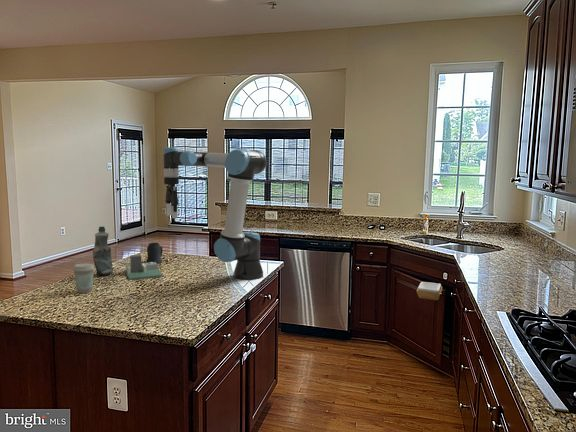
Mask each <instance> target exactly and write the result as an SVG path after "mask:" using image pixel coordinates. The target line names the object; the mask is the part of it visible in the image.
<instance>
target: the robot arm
mask: <svg viewBox="0 0 576 432" xmlns="http://www.w3.org/2000/svg"><path fill="white" fill-rule="evenodd" d="M162 156H163V176H164V177H163V184H164V185H166V190H165V203H166V207H165V208H166V210H165V211H166V217H167V216H171V218H172V219H178V218H179V217H178V215H179V214H178V212H179V211H178V206H179V204H180V203H179V197H178V196H179V195H178V186H176V185H179V181H180V178H179V175H180V174H179V173H180V170H179V167H180V166H182V167H205V168H206V167H207V168H208V167H211V168H224V169H226V172H227V173H228V174H227V175H228V176H227V177H228V178H229V179H230V184H229V185H230V186H229V193H228V201H227V209H226V215H225V216H226V217H225V223H224V229H223V230H222V231H221V232H220V237H219V238H218V239H217V240H215V242H214V244H213V252H214V254H215V255H216V257H217V259H218V260H219V261H220V262H224V263H229V262H230V263H231V262H234V261H236V263H235V267H234V269H233V270H234V271H233V278H235V279H237V280H245V281H252V280H258V279H261V278H263V277H264V270H263V268H262V267H263V266H262V263H261V236H260V233H258V232H252V231H243V229H244V228H243V227H244V223H245V215H246V207H247V202H248V201H247V200H248V193H249V187H250V184H251V182H253V181H254V176H255V175H258V174H261V173H263V172H264V171H265V169H266V167H267V163H268V161H267V157H266V155H265V154H264V153H263V152H261V151H260V150H257V149H246V148H237V149H233V150H231V151H230V152H229V153H228V152H226V153H225V152H224V153H223V152H207V151H205V152H204V151H191V150H184V151H183V150H180V151H179V148H178V147H172V146H171V147H164V148H163V155H162Z"/></svg>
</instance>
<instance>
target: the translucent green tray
mask: <svg viewBox="0 0 576 432" xmlns="http://www.w3.org/2000/svg"><path fill="white" fill-rule="evenodd" d="M144 263H145V262H143V263H142V262H141V265H142V271H139V272H131V269H130V262H126V264H125V269H124V273H125V276H126V277H127V278H128V280H129V281H133V280H144V279H156V278H163V277H164V274H163V273H162V271H160V270H159V269H151V270H146V266H145V264H144Z"/></svg>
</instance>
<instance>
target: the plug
mask: <svg viewBox="0 0 576 432" xmlns="http://www.w3.org/2000/svg"><path fill="white" fill-rule="evenodd" d="M129 264H130V269H131V272H139V271H142V265H141V264H142V255H141V254H135V255H134V254H132V255H131V254H130V256H129Z"/></svg>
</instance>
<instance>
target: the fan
mask: <svg viewBox="0 0 576 432" xmlns="http://www.w3.org/2000/svg"><path fill="white" fill-rule="evenodd" d="M143 263H144V264H145V266H146V270H151V269H158V264H157V263H156V262H149V263H146V262H143ZM158 270H159V269H158Z"/></svg>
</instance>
